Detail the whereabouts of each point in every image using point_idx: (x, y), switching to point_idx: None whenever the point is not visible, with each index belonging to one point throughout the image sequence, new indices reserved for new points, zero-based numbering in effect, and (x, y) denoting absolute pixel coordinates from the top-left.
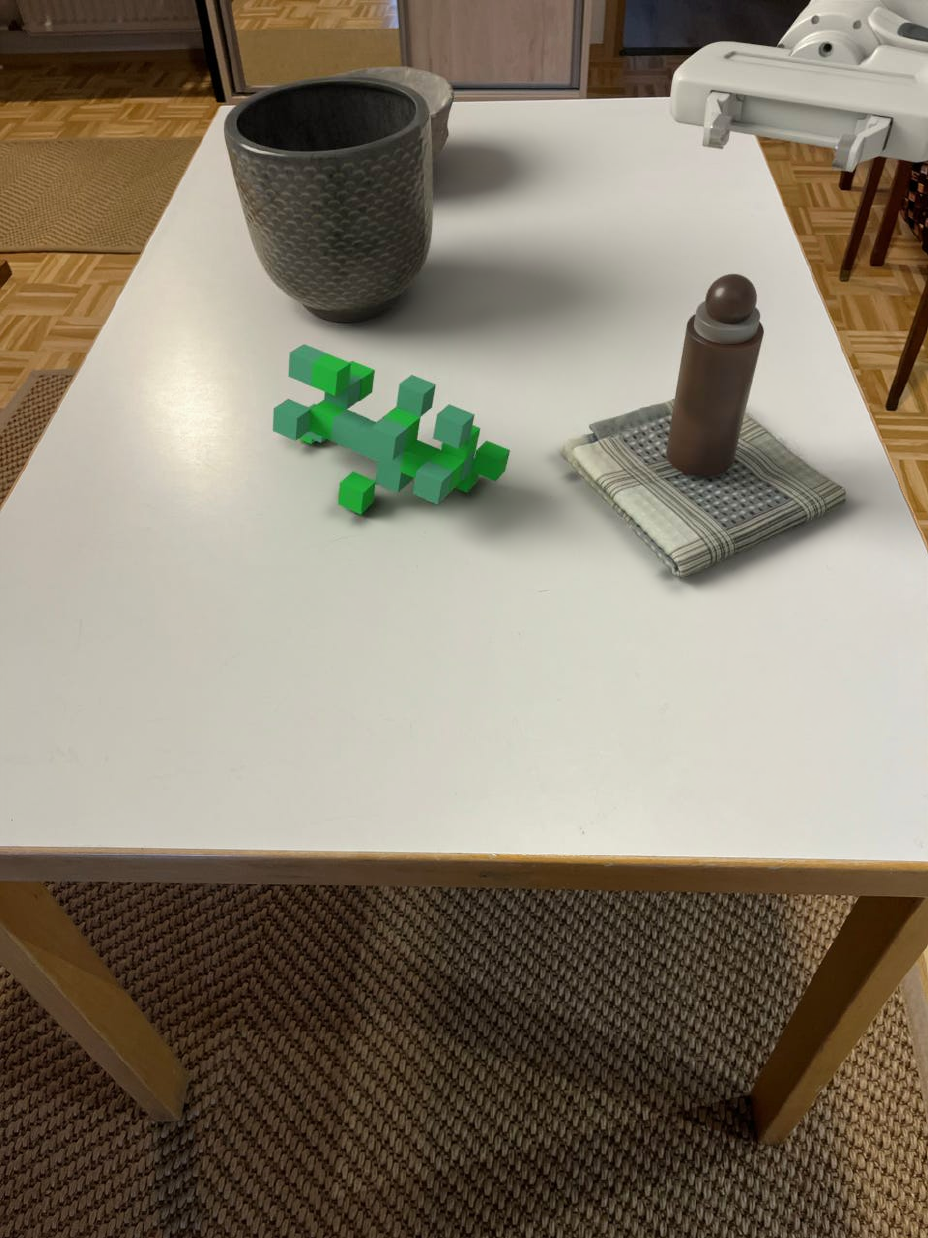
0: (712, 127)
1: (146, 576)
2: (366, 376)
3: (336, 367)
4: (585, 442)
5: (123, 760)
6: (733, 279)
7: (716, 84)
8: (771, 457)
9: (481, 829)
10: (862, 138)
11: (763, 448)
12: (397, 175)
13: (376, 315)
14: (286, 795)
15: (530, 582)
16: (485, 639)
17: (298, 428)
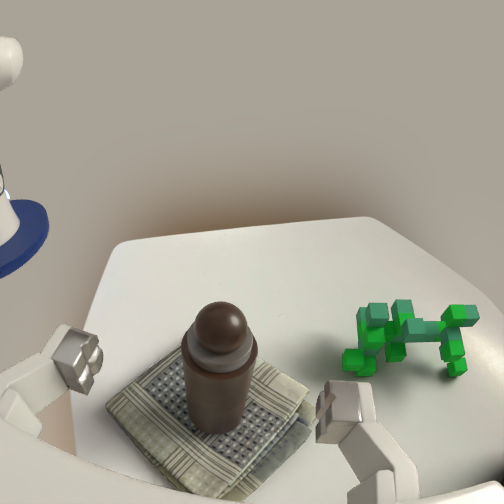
0: (352, 382)
1: (428, 283)
2: (449, 345)
3: (453, 308)
4: (306, 416)
5: (369, 233)
6: (223, 307)
7: (423, 498)
8: (158, 430)
9: (257, 230)
10: (44, 347)
11: (165, 438)
12: None
13: (502, 483)
14: (319, 231)
15: (288, 318)
16: (292, 286)
17: (443, 315)
